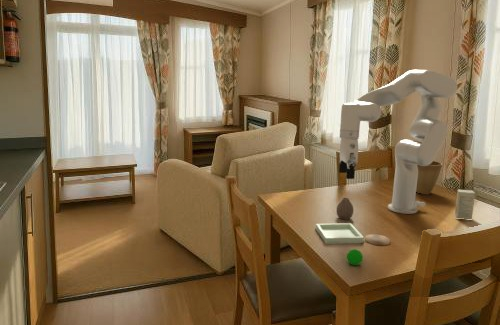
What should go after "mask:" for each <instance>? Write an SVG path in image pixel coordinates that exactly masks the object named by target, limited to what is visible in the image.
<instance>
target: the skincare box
mask: <svg viewBox="0 0 500 325" xmlns="http://www.w3.org/2000/svg"><path fill="white" fill-rule="evenodd" d="M475 195H476V192H475V191H474V190H472V189H471V190H470V189H457V193H456V200H455V210H454V218H455V217H456V218H464V219H472V220H473V214H474V213H473V212H474V204H475V198H476V197H475ZM456 218H455V219H456Z"/></svg>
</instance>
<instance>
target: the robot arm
mask: <svg viewBox="0 0 500 325" xmlns="http://www.w3.org/2000/svg"><path fill="white" fill-rule="evenodd" d="M417 91H418V92H419V96H420V99H421V100H420V101H421V102H420V103H421V104H420V107H419V109H418V111H417V114H416V115H415V117H414V119H413V121H412V123H411V125H410V126H409V130H408V132H409V133H408V134H409V136H411V138H413V139H416V140H413V139H405V138H404V139H402V140H399V141H397V143H396V145H395V148H394V156H395V158H394V160H395V167H394V168H395V169H394V170H395V171H394V179H393V189H392V198H391V203H389V204H387V209H388V210H390V211H392V212H394V213H398V214H404V215H407V214H408V215H413V214H416V213H418V211H419V208H418V207H425V206H426V202H425V201H420V200H416V195H417V193H416V188H417V179H418V167H417V165H420V166H427V165H429V164H431V163H432V162H433V161H435V159H436V157H437V155H438V153H439V151H440V150H441V148H442V146H443V144H444V143H445V141H446V138H447V135H448V127H447V124H446V123H445V122H444V121H441V120H439V117H440V115H441V112H442V106H441V105H442V104H441V102H440V98H441V99H448V98H451V97H453V96H454V95H455V94H456V93H457V91H458V83H457V81H456V79H455V78H453V77H451V76H449V75H445V74H443V73H441V72H437V71H435V70H431V69H411V70H408V71H406V72H404V74H402V75H401V76H399V77H397V78H396V79H394V80H393V81H391V82H390V83H389V84H386V85H385V86H382V87H379V88H377V89H374V90H372V91H369V92H367V93H365V94H363V95H362V96H360V97H358V98H357V99H355V100H354V101H353V102H345V103H343V104H342V105H341V109H340V110H341V112H340V114H341V115H340V125H339V138H340V146H339V166H338V169H339V170H338V172H339V173H340V174H346V176H345V179H347V180H354V179H355V173H356V165H357V164H358V163H359V161H358V160H359V140H358V139H360V128H361V126H360V125H361V122H367V123H373V122H376V121H378V120H379V119H380V117H381V116H382V108H381V107H383V106H390V105H395V104H399V103H400V102H402V101H403V100H404V99H405V98H407V97H409V96H411V95H412V94H413V93H415V92H417ZM417 140H420V141H417Z"/></svg>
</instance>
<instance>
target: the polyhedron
mask: <svg viewBox="0 0 500 325" xmlns="http://www.w3.org/2000/svg"><path fill="white" fill-rule="evenodd" d="M346 259H347V260H346V261H347V262H348V264H350V265H352V266H358V265H360V264H361V263H362V262H363V260H364V256H363V254H362V252H361V250H358V249H356V248H355V249H351V250H349V251H348V252H347V254H346Z"/></svg>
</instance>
